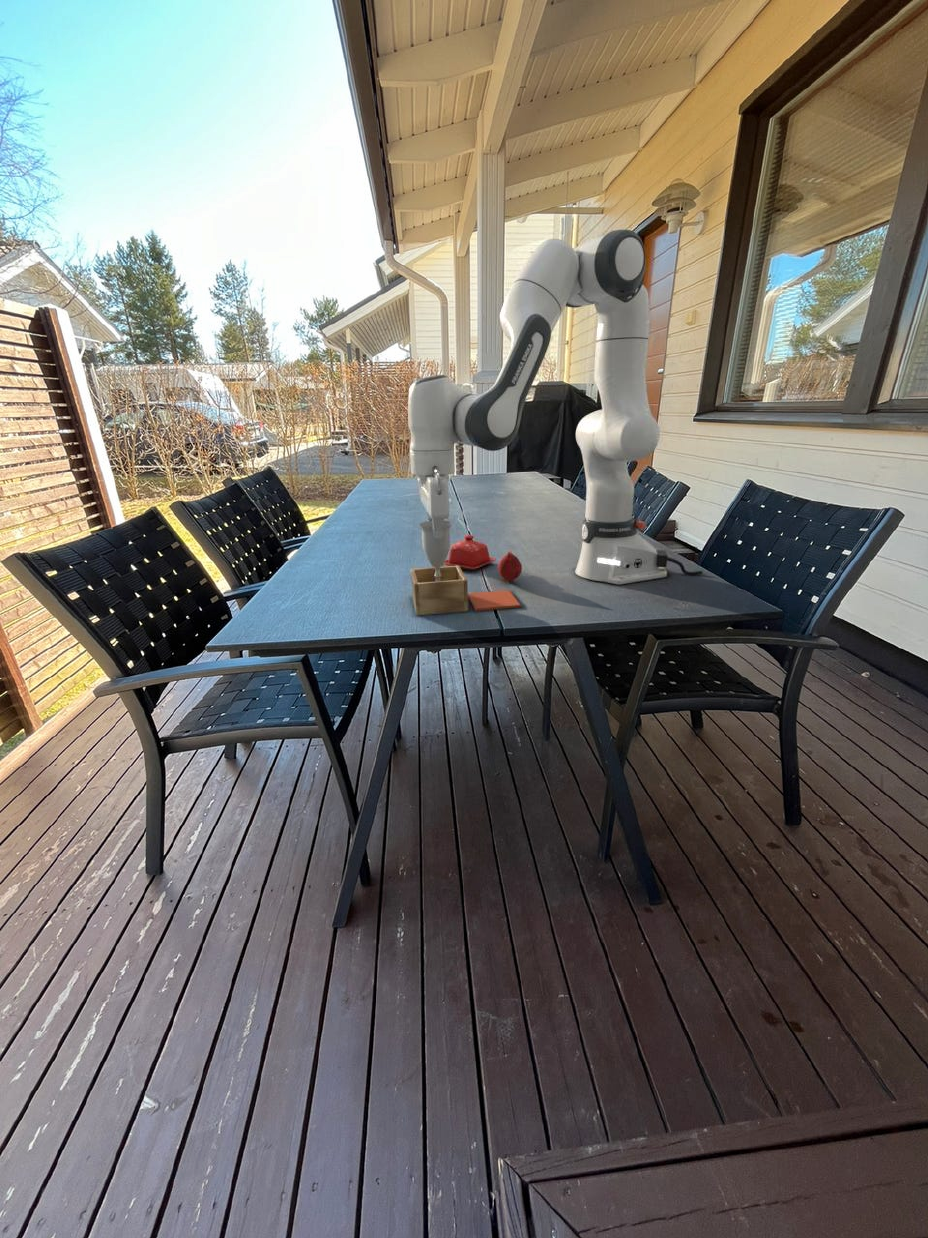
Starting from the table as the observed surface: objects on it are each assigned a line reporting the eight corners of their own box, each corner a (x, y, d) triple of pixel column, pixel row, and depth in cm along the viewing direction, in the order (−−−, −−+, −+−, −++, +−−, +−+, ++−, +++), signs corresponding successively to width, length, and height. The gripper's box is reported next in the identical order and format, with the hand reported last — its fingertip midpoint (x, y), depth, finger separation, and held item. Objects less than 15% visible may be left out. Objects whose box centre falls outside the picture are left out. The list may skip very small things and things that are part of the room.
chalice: (450, 611, 113) (447, 528, 106) (420, 609, 114) (415, 527, 107) (457, 599, 119) (455, 520, 112) (428, 598, 121) (424, 520, 114)
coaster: (508, 592, 123) (508, 589, 123) (520, 607, 114) (520, 604, 113) (467, 595, 121) (466, 593, 121) (475, 611, 112) (475, 608, 112)
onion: (526, 581, 130) (526, 550, 127) (511, 587, 126) (512, 555, 123) (507, 577, 133) (508, 546, 130) (493, 583, 129) (493, 551, 126)
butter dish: (464, 557, 151) (463, 528, 148) (498, 563, 145) (498, 532, 142) (440, 567, 143) (438, 536, 140) (474, 574, 137) (474, 542, 133)
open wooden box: (459, 594, 123) (458, 565, 120) (468, 611, 112) (467, 580, 110) (412, 598, 121) (410, 568, 118) (416, 615, 111) (414, 584, 108)
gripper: (456, 469, 96) (457, 543, 101) (441, 459, 115) (443, 522, 120) (422, 470, 95) (425, 545, 100) (412, 460, 114) (416, 523, 119)
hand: (435, 532), depth 110 cm, fingers open, 8 cm apart
